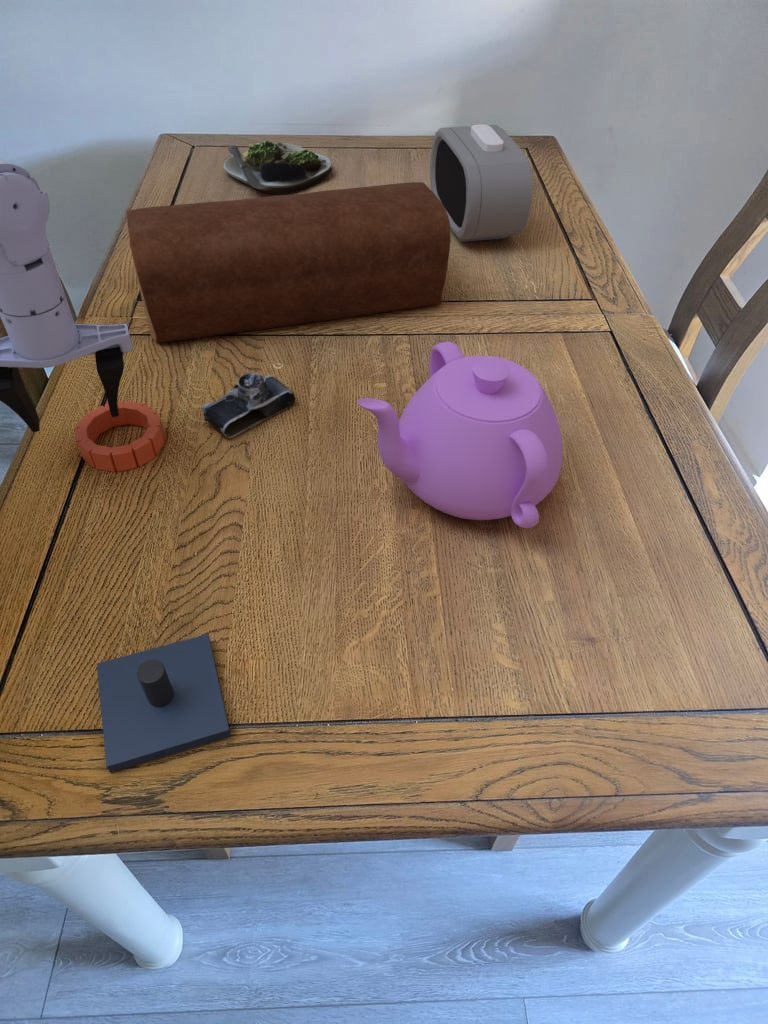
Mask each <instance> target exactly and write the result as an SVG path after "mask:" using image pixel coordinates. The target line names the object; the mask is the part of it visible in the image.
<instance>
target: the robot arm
mask: <svg viewBox="0 0 768 1024" xmlns="http://www.w3.org/2000/svg"><path fill="white" fill-rule="evenodd" d="M49 215H50V198H49V194H48V192H46V191H44V190H43V189H41V188H40V186H39V184H38V182H37V181H36V179H35V177H34V176H31V175H30V172H29V171H28V170H26V169H25V168H23V167H21V166H19V165H17V164H15V163H12V162H10V161H8V160H5V159H4V158H1V157H0V319H1V322H2V324H3V326H4V329H5V331H6V333H7V335H6V336H3V337H1V338H0V402H1V403H3V404H4V405H5V406H7V407H9V409H11V411H13V412H14V413H15V414H17V416H18V417H19V418H20V419H21V420H22V421H23V422H24V423H25V424H26V425H27V427H28V428H29V429H30V431H31V432H32V433H36V432H41V429H40V417H39V415H38V412H37V409H36V407H35V404H34V403H33V400H32V399H31V397H30V395H29V393H28V390H27V389H26V387H25V383H24V381H23V378H22V375H21V372H20V370H19V368H29V369H46V368H47V369H48V368H54V367H57V366H62V365H65V364H67V363H69V362H72V361H75V360H77V359H80V358H84V357H86V356H90V355H94V358H95V367H96V372H97V375H98V377H99V379H100V382H101V384H102V387H103V389H104V392H105V395H106V400H107V404H108V405H109V409H110V413H111V415H112V417H117V416H119V411H118V405H117V402H118V396H119V387H120V384H121V380H122V377H123V374H124V370H125V362H124V356H123V354H126V353H132V352H134V347H133V342H132V338H131V334H130V331H129V327H128V324H127V323H120V324H89V323H88V324H87V323H86V324H85V323H76V322H75V318H74V317H73V314H72V311H71V307H70V304H69V302H68V299H67V296H66V292H65V289H64V286H63V285H62V281H61V278H60V275H59V271H58V269H57V265H56V263H55V260H54V257H53V255H52V250H51V248H50V243H49V240H48V237H47V231H46V228H47V227H46V226H47V222H48V220H49Z"/></svg>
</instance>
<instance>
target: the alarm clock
mask: <svg viewBox="0 0 768 1024" xmlns="http://www.w3.org/2000/svg"><path fill="white" fill-rule="evenodd" d="M429 162H430V163H429V181H430V190H431V191H432V192H433V193H434V194H435V195H436V196H437V198H438V199H439V200H440V201H441V203H442V204H443V205H444V207H445V208H446V211H447V215H448V218H449V222H450V230H451V231H452V232H453V233H454V234H455V236H456V237H457V239H458V240H459V242H460V243H464V242H466V243H467V242H475V241H478V242H479V241H488V240H490V241H491V240H500V239H507V237H509V236H518V235H521V234H522V233H523V232H524V230H525V229H526V226H527V224H528V221H529V217H530V213H531V207H532V201H533V189H534V182H533V181H534V180H533V172H532V171H533V170H532V166H531V162H530V160H529V158H528V156H527V155H526V154H525V151H524V150H522V148H521V147H520V146H519V145H518V144H517V143H516V142H515V141H514V140H513V139H512V138H511V137H510V135H509V134H508V133H507V132H506V131H505V130H504V129H503V128H502V127H500V126H499V125H497V124H473V125H466V126H465V125H464V126H449V127H447V126H446V127H440V128H438V129H437V131H436V132H435V133H434V136H433V139H432V144H431V151H430V161H429Z"/></svg>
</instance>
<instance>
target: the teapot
mask: <svg viewBox="0 0 768 1024" xmlns="http://www.w3.org/2000/svg"><path fill="white" fill-rule="evenodd" d="M356 402H357V405H358V406H359V407H361V408H363V409H364V410H367V411H368V412H370V413H371V414H373V416H374V417H375V418H376V420H377V448H378V452H379V456H380V458H381V461H382V463H383V464H384V466H385V467H386V469H387V470H388V471H389V472H391V474H393V475H394V476H395V477H397V478H399V479H401V480H402V482H403V483H404V484H405V486H406V487H407V489H409V490H410V491H411V492H412V493H413V494H414V495H415V496H416V497H418V498H419V499H420V500H421V501H423V502H424V503H425V504H427V505H428V506H430V507H432V508H433V509H436V510H437V511H439V512H441V513H444V514H446V515H448V516H452V517H455V518H458V519H464V520H471V521H491V520H499V519H504V518H508V517H511V520H512V522H513V523H514V524H515V525H516V526H518V527H520V528H523V529H531V528H533V527H535V526H537V524H538V523H539V521H540V513H539V510H538V508H537V505H538V504H539V503H541V502H542V501H543V500H544V499H545V498H546V497H547V496H548V495H549V494H550V493H551V492H552V491H553V490H554V487H555V486H556V484H557V482H558V479H559V477H560V473H561V469H562V464H563V436H562V431H561V427H560V423H559V420H558V417H557V415H556V411H555V409H554V407H553V405H552V403H551V401H550V398H549V397H548V394H547V392H546V391H545V389H544V388H543V386H542V385H541V383H540V381H539V380H538V379H537V378H536V377H535V375H534V374H533V373H532V372H530V371H529V370H528V369H527V368H525V367H524V366H522V365H520V364H519V363H516V362H515V361H512V360H510V359H506V358H502V357H498V356H494V355H493V356H492V355H469V356H465V355H464V353H463V351H462V349H461V348H460V346H459V345H458V344H456V343H455V342H451V341H443V342H439V343H437V344H435V345H434V346H433V347H432V348H431V350H430V354H429V378H428V379H427V380H426V381H425V382H424V383H423V384H422V386H420V387H419V388H418V389H417V391H416V392H415V393H414V394H413V396H411V398H410V400H409V401H408V403H407V405H405V408H404V409H403V411H402V414H401V416H400V418H399V415H398V414H397V411H396V409H395V407H393V405H392V404H391V403H389V402H388V401H385V400H383V399H379V398H370V397H369V398H368V397H365V398H359V399H358V400H357V401H356Z"/></svg>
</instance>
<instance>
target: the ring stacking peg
mask: <svg viewBox="0 0 768 1024" xmlns="http://www.w3.org/2000/svg"><path fill="white" fill-rule="evenodd" d="M212 646H213V645H212V642H211V638H210V635H209V633H206V634H202V635H199V636H195V637H191V638H188V639H183V640H180V641H176V642H173V643H169V644H165V645H161V646H158V647H154V648H149V649H146V650H142V651H138V652H135V653H131V654H128V655H123V656H119V657H117V658H112V659H109V660H105V661H101V662H97V663H96V669H97V680H98V692H99V702H100V703H99V704H100V713H101V723H102V735H103V745H104V746H103V747H104V756H105V767H106V769H107V770H108V772H109V774H112V773H116V772H119V771H123V770H126V769H129V768H132V767H136V766H138V765H139V766H140V765H142V764H146V763H149V762H152V761H155V760H158V759H162V758H166V757H169V756H171V755H175V754H178V753H181V752H184V751H187V750H188V751H189V750H191V749H195V748H198V747H201V746H204V745H209V744H211V743H214V742H217V741H221V740H224V739H227V738H230V737H232V734H231V730H230V725H229V721H228V715H227V710H226V707H225V706H226V705H225V701H224V697H223V693H222V688H221V683H220V678H219V674H218V669H217V664H216V659H215V655H214V651H213V647H212Z"/></svg>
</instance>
